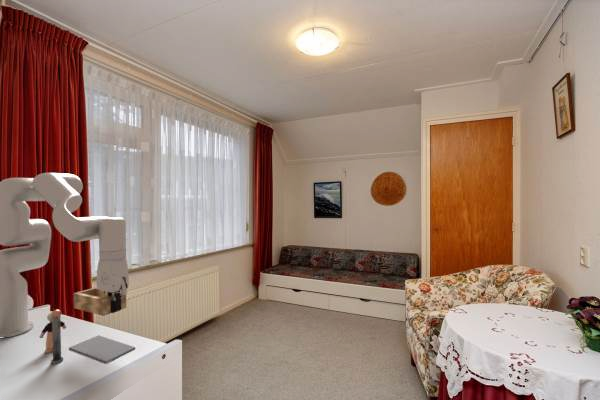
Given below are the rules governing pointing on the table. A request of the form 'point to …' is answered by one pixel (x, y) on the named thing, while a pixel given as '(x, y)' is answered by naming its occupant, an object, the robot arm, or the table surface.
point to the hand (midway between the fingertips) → (114, 310)
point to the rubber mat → (102, 348)
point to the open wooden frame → (95, 301)
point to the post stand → (56, 337)
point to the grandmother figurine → (50, 334)
